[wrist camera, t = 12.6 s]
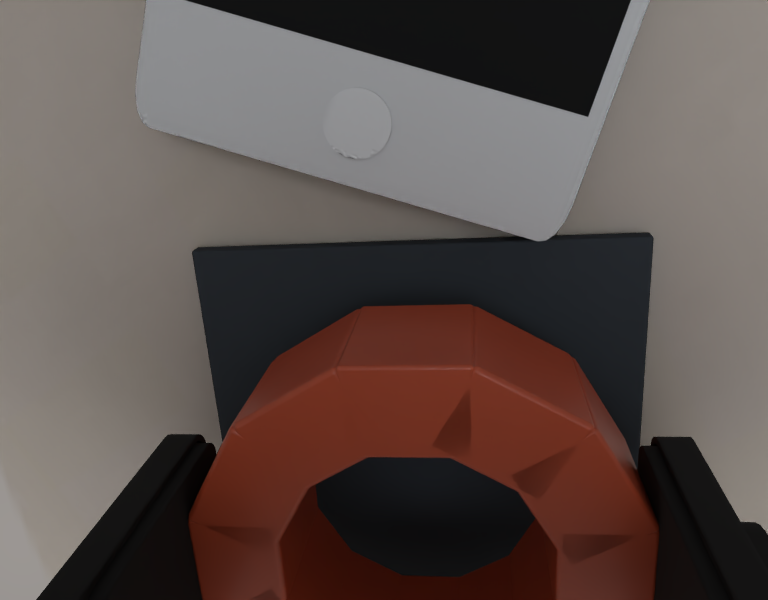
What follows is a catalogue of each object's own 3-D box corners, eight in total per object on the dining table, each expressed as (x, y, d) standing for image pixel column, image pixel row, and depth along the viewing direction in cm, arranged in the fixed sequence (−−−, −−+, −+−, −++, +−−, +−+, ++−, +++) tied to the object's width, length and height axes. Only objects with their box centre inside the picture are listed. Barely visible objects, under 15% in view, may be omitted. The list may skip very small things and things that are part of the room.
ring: (264, 625, 14) (225, 734, 12) (215, 307, 12) (155, 368, 10) (613, 639, 13) (643, 762, 11) (634, 299, 11) (676, 364, 9)
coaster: (252, 594, 15) (248, 604, 15) (197, 247, 13) (191, 251, 12) (625, 607, 14) (628, 618, 14) (649, 232, 12) (654, 236, 11)
